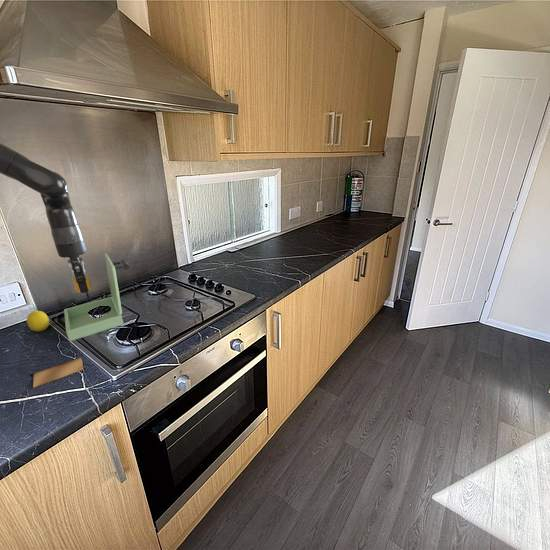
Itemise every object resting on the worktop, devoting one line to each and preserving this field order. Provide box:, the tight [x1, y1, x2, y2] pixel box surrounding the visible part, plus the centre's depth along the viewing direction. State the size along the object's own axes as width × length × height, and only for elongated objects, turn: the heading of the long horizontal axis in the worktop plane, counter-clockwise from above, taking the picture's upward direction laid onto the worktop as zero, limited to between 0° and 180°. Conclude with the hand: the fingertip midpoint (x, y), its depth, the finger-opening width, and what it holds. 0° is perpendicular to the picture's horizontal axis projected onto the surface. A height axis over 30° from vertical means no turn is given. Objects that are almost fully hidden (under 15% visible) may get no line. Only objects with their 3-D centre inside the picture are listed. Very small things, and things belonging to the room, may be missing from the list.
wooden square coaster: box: [32, 356, 84, 388], centre depth 81 cm, size 11×11×1 cm
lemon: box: [26, 310, 50, 332], centre depth 96 cm, size 6×6×8 cm
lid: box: [103, 253, 130, 315], centre depth 103 cm, size 16×18×6 cm
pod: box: [71, 273, 93, 294], centre depth 96 cm, size 5×5×5 cm
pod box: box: [63, 296, 125, 342], centre depth 101 cm, size 16×18×4 cm
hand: (84, 289), depth 97 cm, fingers closed on pod, 4 cm apart
